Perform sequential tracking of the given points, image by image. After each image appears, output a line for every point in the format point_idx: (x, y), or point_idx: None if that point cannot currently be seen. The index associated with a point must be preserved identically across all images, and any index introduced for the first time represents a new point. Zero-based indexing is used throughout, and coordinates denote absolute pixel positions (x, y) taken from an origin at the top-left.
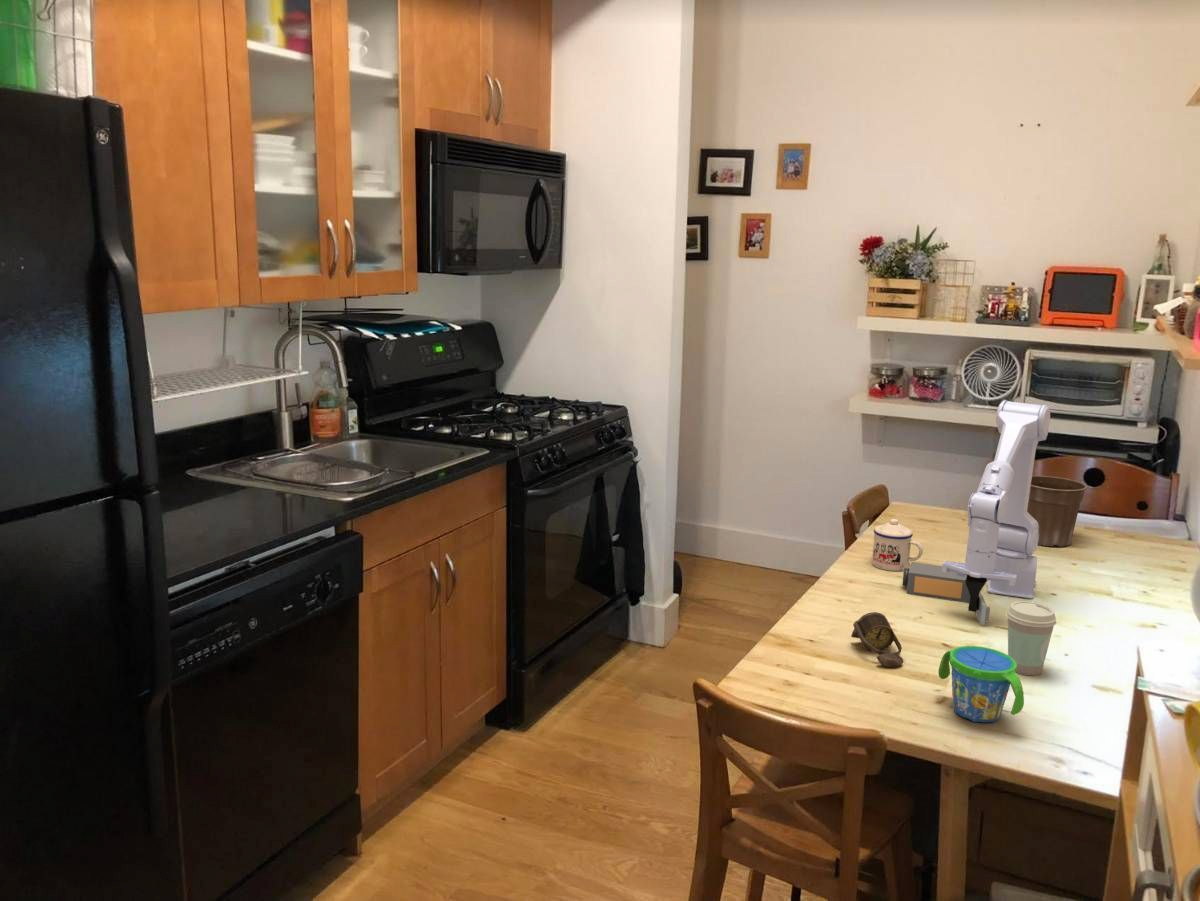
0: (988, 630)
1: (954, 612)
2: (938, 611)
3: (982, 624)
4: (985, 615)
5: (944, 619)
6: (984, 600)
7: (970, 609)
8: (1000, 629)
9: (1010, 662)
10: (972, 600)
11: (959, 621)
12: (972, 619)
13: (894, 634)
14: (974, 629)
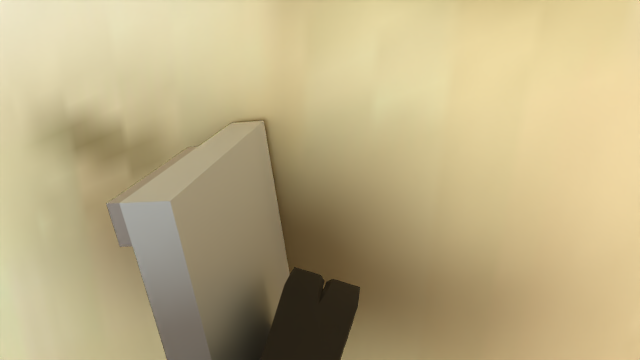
0: (197, 40)
1: (460, 351)
2: (599, 345)
3: (244, 123)
4: (190, 153)
5: (582, 181)
6: (166, 355)
7: (339, 289)
8: (114, 103)
9: None
10: (309, 344)
11: (440, 174)
12: (327, 249)
13: None
14: (315, 15)
